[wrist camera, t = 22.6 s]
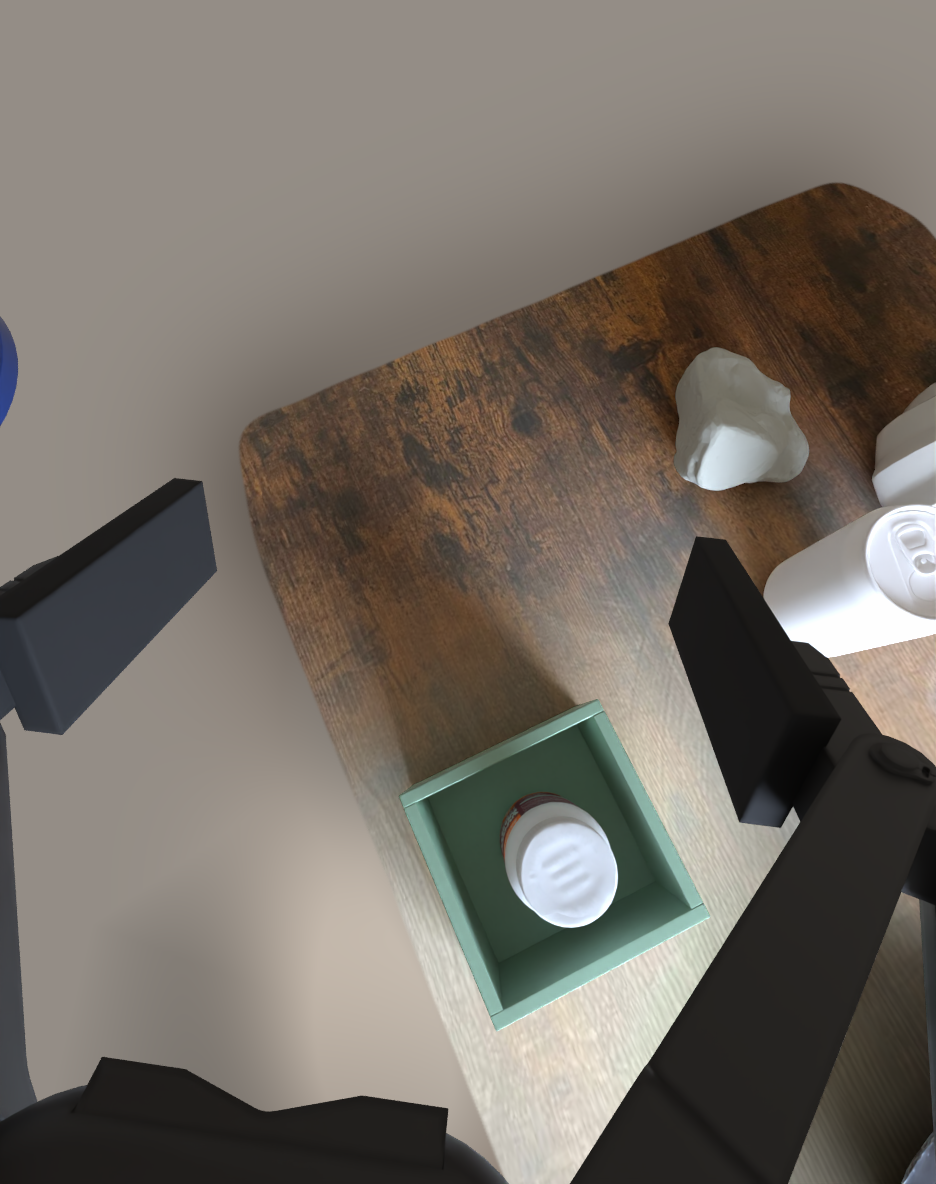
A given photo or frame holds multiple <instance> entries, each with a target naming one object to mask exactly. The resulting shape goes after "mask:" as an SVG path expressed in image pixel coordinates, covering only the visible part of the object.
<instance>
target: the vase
mask: <svg viewBox="0 0 936 1184" xmlns="http://www.w3.org/2000/svg"><path fill="white" fill-rule="evenodd" d="M872 482H873V485H874V488H875V491H876V494H877V497H878V499H879V502H880V504H881V506H882V507H887V506H894V505H910V504H922V505H929V506H934V507H936V382H935V383H934V384H932V385H931V386H929V387H928V388H927V389H925V390H924V391H923V392H922V393H920V394H919V395H918V396H917V397H916V398H915V399H914V400H913V401H912V402H911V403H910V404H909V405H908V407H907V408H906V409H905V411H904V412H903V414H901V415H900V416H898V417H897V418H896V419H894V420H893V421H892V422H890V423H889V424H888V425H886V426H885V427H884V428H883V430H882V431H881V432H880V433H879V434H878V435H877V442H876V454H875V471H874V473H873V476H872Z"/></svg>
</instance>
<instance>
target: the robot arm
mask: <svg viewBox="0 0 936 1184" xmlns="http://www.w3.org/2000/svg"><path fill="white" fill-rule="evenodd" d="M216 571H217V568H216V562H215V556H214V549H213V544H212V537H211V531H210V526H209V519H208V513H207V507H206V501H205V495H204V489H203V483H202V481H195V480H186V479H176V478H174V479H172V480H171V481H169V482H168V483H166V484H165V485H163V486H162V487H161V488H159V489H158V490H156V491H155V492H153V493H152V494H150V495H149V496H147V497H146V498H144V499H143V500H141V501H140V502H138V503H137V504H135V505H134V506H132V507H131V508H129V509H128V510H126V511H125V512H123V513H122V514H121V515H119V516H118V517H116V518H115V519H113V520H112V521H110V522H109V523H107V524H106V525H104V526H103V527H101V528H100V529H98V530H97V531H95V532H94V533H92V534H91V535H90V536H88V537H86V538H85V539H84V540H82V541H80V542H79V543H78V544H76V545H75V546H73V547H72V548H70V549H69V550H67V551H66V552H64V553H63V554H61V555H60V556H57V557H54V558H52V559H49V560H47V561H44V562H41V563H39V564H36V565H33V566H32V567H30V568H29V569H28V570H26V571H24V572H23V573H21V574H20V575H18V576H17V577H15V578H14V581H9V582H7V583H6V584H4V585H3V586H1V587H0V720H1V719H2V718H3V717H4V716H5V715H6V714H8V713H9V712H10V711H11V710H12V709H13V708H14V707H15V709H16V712H17V714H18V716H19V719H20V720H21V723H22V725H23V728H24V730H28V731H35V732H43V733H52V734H59V735H63V734H64V732H65V731H66V730H67V729H68V728H69V727H70V726H71V725H72V724H73V723H74V722H75V721H76V720H77V719H78V718H79V717H80V716H81V714H82V713H83V712H84V711H85V710H86V709H87V708H88V707H89V706H90V705H91V704H92V703H93V702H94V701H95V700H96V698H98V696H99V695H100V694H101V693H102V692H103V691H104V690H105V689H106V688H107V687H108V686H109V685H110V684H111V683H112V682H113V680H115V678H116V677H117V676H118V675H119V674H120V673H121V672H122V671H123V670H124V669H125V668H126V667H127V666H128V665H129V664H130V662H131V661H132V660H133V659H134V658H135V657H136V656H137V655H138V654H139V653H140V652H141V651H142V650H143V649H144V648H145V647H146V646H147V644H148V643H149V642H150V641H151V640H152V639H153V638H154V637H155V636H156V635H157V634H158V633H159V632H160V631H161V630H162V628H163V627H164V626H165V625H166V624H167V623H168V622H169V621H170V620H171V619H172V618H173V617H174V616H175V615H176V614H177V613H178V612H179V610H180V609H181V608H182V607H183V606H184V605H185V604H186V603H187V602H188V601H189V600H190V599H191V598H192V596H194V594H196V593H197V591H198V590H199V589H200V588H201V587H202V586H203V585H204V584H205V583H206V582H207V580H209V579H210V578H211V577H212V576H213V574H214V573H215V572H216ZM669 626H670V629H671V632H672V635H673V637H674V640H675V643H676V646H677V649H678V651H679V654H680V657H681V660H682V663H683V665H684V668H685V671H686V674H687V677H688V679H689V682H690V685H691V688H692V691H693V693H694V696H695V699H696V702H697V705H698V708H699V710H700V713H701V716H702V719H703V722H704V724H705V727H706V730H707V733H708V736H709V738H710V741H711V744H712V747H713V750H714V752H715V755H716V758H717V761H718V764H719V766H720V769H721V772H722V775H723V778H724V780H725V783H726V786H727V789H728V792H729V794H730V797H731V800H732V803H733V806H734V808H735V811H736V814H737V817H738V820H739V822H741V823H748V824H756V825H764V826H772V827H779V828H781V826H782V825H783V823H784V821H785V819H786V818H787V816H788V814H789V812H790V810H791V809H792V807H794V809H795V811H796V813H797V815H798V817H799V820H800V824H799V825H798V827H797V828H796V830H795V832H794V833H793V835H792V836H791V838H790V839H789V841H788V843H787V844H786V846H785V847H784V849H783V851H782V852H781V854H780V855H779V857H778V858H777V860H776V862H775V863H774V865H773V866H772V868H771V870H770V871H769V873H768V874H767V876H766V877H765V879H764V881H763V882H762V884H761V885H760V887H759V889H758V890H757V892H756V893H755V895H754V896H753V898H752V900H751V901H750V903H749V904H748V906H747V908H746V909H745V911H744V912H743V914H742V915H741V917H740V919H739V920H738V922H737V923H736V925H735V927H734V928H733V930H732V931H731V933H730V934H729V936H728V938H727V939H726V941H725V942H724V944H723V946H722V947H721V949H720V950H719V952H718V953H717V955H716V957H715V958H714V960H713V961H712V963H711V965H710V966H709V968H708V969H707V971H706V972H705V974H704V976H703V977H702V979H701V980H700V982H699V984H698V985H697V987H696V988H695V990H694V991H693V993H692V995H691V996H690V998H689V999H688V1001H687V1003H686V1004H685V1006H684V1007H683V1009H682V1011H681V1012H680V1014H679V1015H678V1017H677V1018H676V1020H675V1022H674V1023H673V1025H672V1026H671V1028H670V1030H669V1031H668V1033H667V1034H666V1036H665V1037H664V1039H663V1041H662V1042H661V1044H660V1045H659V1047H658V1049H657V1050H656V1052H655V1053H654V1055H653V1056H652V1058H651V1059H650V1061H649V1062H648V1064H647V1065H646V1066H645V1067H644V1069H643V1070H642V1072H641V1073H640V1074H639V1076H638V1077H637V1079H636V1081H635V1082H634V1084H633V1085H632V1087H631V1088H630V1090H629V1091H628V1093H627V1095H626V1096H625V1098H624V1099H623V1101H622V1102H621V1104H620V1106H619V1107H618V1109H617V1110H616V1112H615V1113H614V1115H613V1117H612V1118H611V1120H610V1121H609V1123H608V1125H607V1126H606V1128H605V1129H604V1131H603V1132H602V1134H601V1136H600V1137H599V1139H598V1140H597V1142H596V1143H595V1145H594V1147H593V1148H592V1150H591V1151H590V1153H589V1154H588V1156H587V1158H586V1159H585V1161H584V1162H583V1164H582V1166H581V1167H580V1169H579V1170H578V1172H577V1173H576V1175H575V1177H574V1178H573V1180H572V1181H571V1183H570V1184H788V1183H789V1180H790V1177H791V1174H792V1172H793V1169H794V1166H795V1164H796V1161H797V1159H798V1156H799V1154H800V1151H801V1148H802V1146H803V1143H804V1141H805V1138H806V1136H807V1133H808V1130H809V1128H810V1125H811V1123H812V1120H813V1118H814V1115H815V1112H816V1110H817V1107H818V1105H819V1102H820V1100H821V1097H822V1094H823V1092H824V1089H825V1087H826V1084H827V1082H828V1079H829V1076H830V1074H831V1071H832V1069H833V1066H834V1064H835V1061H836V1058H837V1056H838V1053H839V1051H840V1048H841V1046H842V1043H843V1040H844V1038H845V1035H846V1033H847V1030H848V1028H849V1025H850V1022H851V1020H852V1017H853V1015H854V1012H855V1010H856V1007H857V1004H858V1002H859V999H860V997H861V994H862V992H863V989H864V986H865V984H866V981H867V979H868V976H869V974H870V971H871V968H872V966H873V963H874V961H875V958H876V956H877V953H878V950H879V948H880V945H881V943H882V940H883V937H884V935H885V932H886V930H887V927H888V925H889V922H890V919H891V917H892V914H893V912H894V909H895V907H896V904H897V901H898V899H899V896H900V894H901V892H903V893H905V894H908V895H910V896H913V897H915V898H918V899H919V903H920V919H921V935H922V952H923V968H924V984H925V1000H926V1016H927V1033H928V1049H929V1065H930V1081H931V1097H932V1114H933V1130H934V1146H935V1162H936V767H935V765H934V764H933V763H932V762H931V761H930V760H929V759H927V758H926V757H925V756H924V755H923V754H922V753H921V752H919V751H917V750H916V749H914V748H912V747H911V746H909V745H908V744H906V743H904V742H901V741H899V740H896V739H894V738H891V737H889V736H885V735H882V734H881V732H880V731H879V729H878V728H877V727H876V725H875V724H874V722H873V721H872V719H871V718H870V717H869V715H868V714H867V712H866V711H865V710H864V708H863V707H862V705H861V704H860V703H859V701H858V700H857V698H856V697H855V695H854V694H853V693H852V692H849V690H850V688H849V687H848V686H847V684H846V683H845V681H844V680H843V678H840V674H839V673H838V671H837V670H836V669H835V667H834V666H833V664H832V663H831V661H830V660H829V659H828V658H827V657H826V656H825V655H823V654H822V653H821V652H820V651H818V650H817V649H816V648H815V647H813V646H812V645H811V644H809V643H808V642H799V641H791V640H790V638H789V637H788V635H787V634H786V632H785V631H784V629H783V628H782V626H781V624H780V623H779V621H778V620H777V618H776V617H775V615H774V614H773V612H772V611H771V609H770V607H769V606H768V604H767V603H766V601H765V600H764V598H763V597H762V595H761V593H760V592H759V590H758V589H757V587H756V586H755V584H754V583H753V581H752V580H751V578H750V576H749V575H748V573H747V572H746V570H745V569H744V567H743V566H742V564H741V562H740V561H739V559H738V558H737V556H736V555H735V553H734V552H733V550H732V549H731V547H730V545H729V544H728V542H727V541H726V540H723V539H714V538H705V537H696V538H695V542H694V545H693V548H692V551H691V554H690V557H689V561H688V564H687V567H686V570H685V573H684V576H683V580H682V583H681V586H680V589H679V592H678V596H677V599H676V602H675V605H674V608H673V611H672V615H671V618H670V621H669ZM13 859H14V858H13V842H12V827H11V811H10V796H9V780H8V764H7V749H6V735H5V732H4V730H3V728H2V726H1V724H0V1184H508V1182H507V1181H506V1180H505V1178H504V1177H503V1176H502V1175H501V1174H500V1173H499V1172H498V1171H497V1170H496V1169H495V1168H494V1167H493V1166H492V1165H491V1164H490V1163H489V1162H488V1161H487V1160H486V1159H485V1158H484V1157H482V1156H481V1155H480V1154H478V1153H477V1152H476V1151H474V1150H473V1149H472V1148H471V1147H469V1146H468V1145H467V1144H465V1143H463V1142H462V1141H460V1140H458V1139H456V1138H454V1137H452V1136H451V1135H449V1134H447V1133H446V1127H447V1117H448V1108H442V1107H435V1106H428V1105H421V1104H414V1103H408V1102H401V1101H395V1100H388V1099H381V1098H375V1097H368V1096H357V1097H352V1098H346V1099H340V1100H335V1101H329V1102H323V1103H318V1104H312V1105H307V1106H301V1107H295V1108H290V1109H284V1110H279V1111H272V1112H265V1111H261V1110H258V1109H256V1108H254V1107H252V1106H250V1105H248V1104H247V1103H245V1102H243V1101H241V1100H240V1099H238V1098H236V1097H234V1096H232V1095H231V1094H229V1093H227V1092H225V1091H224V1090H222V1089H220V1088H218V1087H216V1086H215V1085H213V1084H211V1083H209V1082H207V1081H206V1080H204V1079H202V1078H200V1077H198V1076H197V1075H195V1074H193V1073H191V1072H189V1071H188V1070H186V1069H180V1068H174V1067H167V1066H160V1065H153V1064H147V1063H140V1062H133V1061H127V1060H120V1059H112V1058H107V1057H102V1058H101V1060H100V1062H99V1064H98V1066H97V1068H96V1070H95V1071H94V1073H93V1075H92V1077H91V1079H90V1081H89V1083H88V1085H85V1086H80V1087H77V1088H73V1089H70V1090H67V1091H64V1092H60V1093H57V1094H54V1095H52V1096H50V1097H47V1098H45V1099H43V1100H41V1101H38V1102H37V1099H36V1096H35V1093H34V1090H33V1086H32V1083H31V1080H30V1076H29V1072H28V1067H27V1058H26V1045H25V1030H24V1014H23V998H22V983H21V967H20V952H19V936H18V921H17V906H16V890H15V874H14V860H13Z"/></svg>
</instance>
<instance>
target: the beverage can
mask: <svg viewBox="0 0 936 1184" xmlns="http://www.w3.org/2000/svg"><path fill="white" fill-rule="evenodd" d="M764 600H765V601H766V603H767V604H768V606H769V607H770V609H771V611H772V612H773V614H774V615H775V617H776V618H777V620H778V621H779V623H780V624H781V626H782V628H783V629H784V631H785V632H786V634H787V635H788V637H789V638H790V640H791V641H799V642H808V643H809V644H811V645H812V646H813V647H815V648H816V649H817V650H818V651H820V652H821V653H822V654H823V655H825V656H826V657H833V656H838V655H843V654H847V653H852V652H856V651H860V650H865V649H869V648H874V647H878V646H883V645H887V644H892V643H896V642H900V641H905V640H909V639H914V638H918V637H923V636H927V635H931V634H936V507H934V506H929V505H922V504H910V505H894V506H887V507H882V508H879V509H876V510H873V511H871V512H869V513H867V514H865V515H863V516H862V517H860V518H858V519H856V520H855V521H853V522H851V523H849V524H848V525H846V526H844V527H842V528H841V529H839V530H837V531H835V532H834V533H832V534H830V535H828V536H827V537H825V538H823V539H821V540H820V541H818V542H816V543H814V544H813V545H811V546H809V547H807V548H806V549H804V550H802V551H800V552H799V553H797V554H795V555H793V556H792V557H790V558H788V559H786V560H785V561H783V562H782V563H780V564H779V565H778V566H777V567H776V568H775V569H774V570H773V571H772V573H771V574H770V576H769V578H768V580H767V582H766V585H765V589H764Z"/></svg>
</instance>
